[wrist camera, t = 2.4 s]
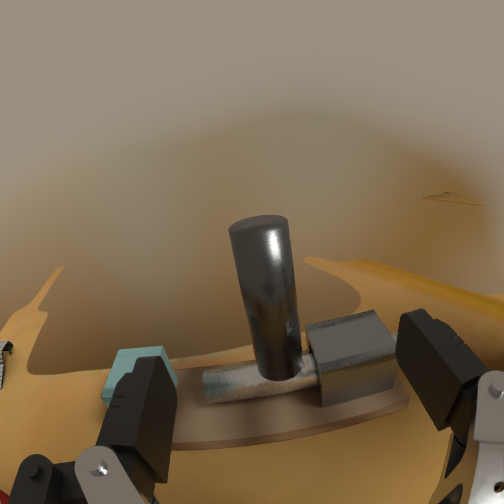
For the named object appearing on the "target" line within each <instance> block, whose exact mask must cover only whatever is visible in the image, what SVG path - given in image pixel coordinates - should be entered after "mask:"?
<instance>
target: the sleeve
mask: <svg viewBox="0 0 504 504" xmlns="http://www.w3.org/2000/svg"><path fill="white" fill-rule="evenodd" d="M305 328H306V341H307V354H311V353H313V354H314V357H315V360H316V363H317V366H318V369H319V393H320V403H321V406H322V408H325V407H329V406H333V405H337V404H341V403H345V402H349V401H353V400H356V399H360V398H363V397H367V396H370V395H373V394H377V393H380V392H383V391H386V390H389V389H392V388H393V386H394V382H395V378H396V373H397V369H398V362H397V359H396V354H395V347H396V342H395V341H394V339H393V338H392V336H391V335H390V333H389V332H388V330H387V329H386V327H385V326H384V324H383V323H382V321H381V320H380V319H379V317H378V316H377V314H376V313H375V311H374V310H370V311H366V312H362V313H358V314H354V315H349V316H345V317H341V318H336V319H332V320H327V321H323V322H318V323H313V324H308V325H305Z"/></svg>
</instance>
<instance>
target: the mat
mask: <svg viewBox="0 0 504 504" xmlns="http://www.w3.org/2000/svg"><path fill="white" fill-rule="evenodd" d="M12 349H13V344H12V343H11V342H10V341H4V342H0V390H1V389H2V382H3V372H4V362H3V351H9V353H10V355H11V352H12Z"/></svg>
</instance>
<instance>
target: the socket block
mask: <svg viewBox="0 0 504 504" xmlns="http://www.w3.org/2000/svg"><path fill="white" fill-rule="evenodd" d="M146 356H161V357H162V359H163V361H164V363H165V365H166V368H167V370H168V372H169V374H170V377H171V379H172V381H173V383H174V385H175V388H176V387H177V382H178V379H177V377H176V375H175V372H174V370H173V368H172V366H171V364H170V361H169V359H168V357H167V355H166V352H165V350H164V348H163V346H155V347H144V348H133V349H120V350H119V352H118V354H117V357H116V359H115V361H114V364H113V366H112V369H111V371H110V374H109V376H108V379H107V381H106V384H105V386H104V389H103V392H102V394H101V399H102V400H103V402H104V403H105V404H106V406H107V407H108V408H109V403H110V401H111V398H113V396H112V395H113V392H114V389H115V387H116V384H117V382H118V381H119V380H120V379H121V378H122V377H123V375H124V374H125V373H130V372H132V371H133V368H134V365H135V362H136V359H137V358H138V357H146Z"/></svg>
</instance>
